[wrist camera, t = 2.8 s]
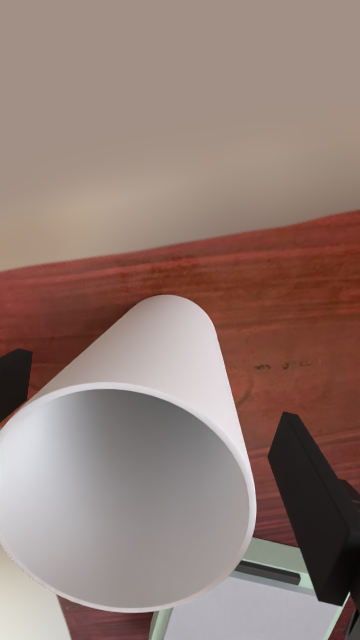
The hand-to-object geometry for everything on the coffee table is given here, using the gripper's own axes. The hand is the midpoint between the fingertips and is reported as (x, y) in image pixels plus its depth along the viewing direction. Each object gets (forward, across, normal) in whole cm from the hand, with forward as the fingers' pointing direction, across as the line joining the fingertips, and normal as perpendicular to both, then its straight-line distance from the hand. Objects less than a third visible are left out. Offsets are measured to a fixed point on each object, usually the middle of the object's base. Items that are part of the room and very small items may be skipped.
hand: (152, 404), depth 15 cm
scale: (+10, +13, -24) cm, 29 cm away
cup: (+10, 0, 0) cm, 10 cm away
